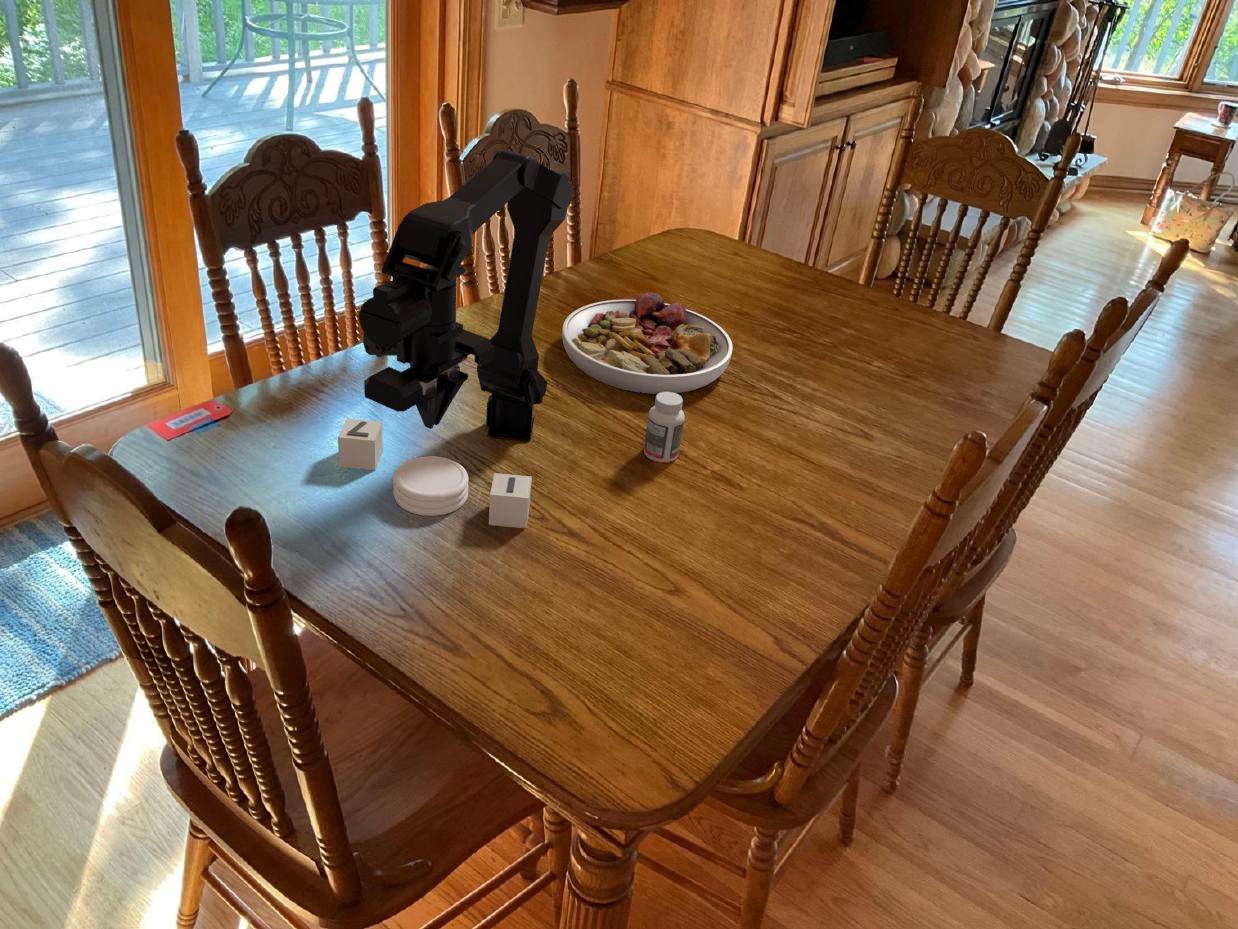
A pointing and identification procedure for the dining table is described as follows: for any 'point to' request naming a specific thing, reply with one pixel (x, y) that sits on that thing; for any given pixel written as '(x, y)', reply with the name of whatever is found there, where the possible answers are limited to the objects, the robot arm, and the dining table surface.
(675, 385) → the bowl
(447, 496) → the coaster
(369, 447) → the block seven
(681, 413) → the pill bottle
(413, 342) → the robot arm
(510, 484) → the block one
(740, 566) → the dining table surface
